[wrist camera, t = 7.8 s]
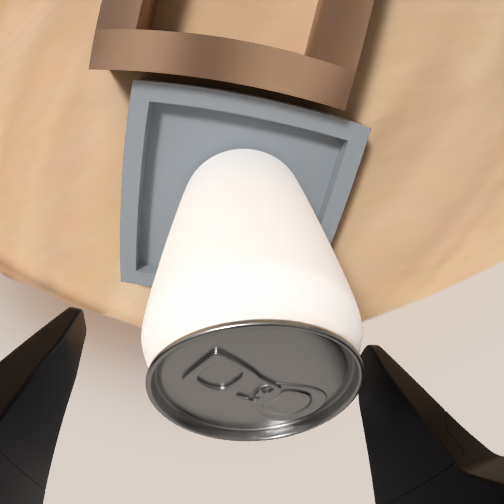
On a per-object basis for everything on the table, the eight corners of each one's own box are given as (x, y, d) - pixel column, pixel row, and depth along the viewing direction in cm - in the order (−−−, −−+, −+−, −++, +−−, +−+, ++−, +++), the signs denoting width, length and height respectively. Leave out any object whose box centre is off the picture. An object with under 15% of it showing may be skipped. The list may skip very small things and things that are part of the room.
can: (248, 270, 20) (263, 458, 10) (161, 211, 18) (93, 398, 8) (324, 197, 18) (420, 372, 8) (235, 121, 15) (239, 244, 5)
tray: (360, 123, 16) (371, 128, 15) (301, 293, 22) (305, 308, 21) (141, 78, 14) (132, 80, 13) (126, 267, 20) (120, 281, 19)
